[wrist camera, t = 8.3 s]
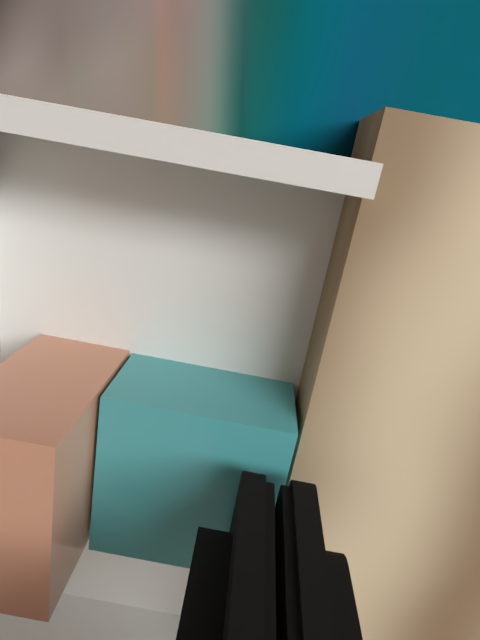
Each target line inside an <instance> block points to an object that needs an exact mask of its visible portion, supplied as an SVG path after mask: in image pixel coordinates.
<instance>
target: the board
mask: <svg viewBox="0 0 480 640" xmlns="http://www.w3.org/2000/svg"><path fill="white" fill-rule="evenodd" d="M351 158H355V159H361V160H366V161H372V162H377V163H383V168H382V171H381V175H380V179H379V183H378V186H377V190H376V194H375V198H374V200H372V199H367V198H361V197H356V196H350V195H345V198H344V202H343V206H342V211H341V215H340V219H339V223H338V227H337V231H336V235H335V239H334V243H333V248H332V252H331V256H330V260H329V264H328V268H327V272H326V276H325V280H324V284H323V289H322V293H321V297H320V301H319V305H318V309H317V313H316V317H315V321H314V326H313V330H312V334H311V338H310V342H309V346H308V350H307V354H306V358H305V363H304V367H303V371H302V375H301V379H300V383H299V387H298V391H297V395H296V400H295V407H296V417H297V427H298V438H297V442H296V445H295V449H294V453H293V457H292V461H291V465H290V469H289V473H288V477H287V481H286V485H287V486H289V483H290V481H291V480H296V481H302V482H307V483H312V484H315V485H316V487H317V494H318V501H319V508H320V515H321V522H322V529H323V536H324V543H325V550H327V551H332V552H337V553H343V554H344V555H345V556H346V558H347V562H348V565H349V571H350V576H351V581H352V586H353V591H354V596H355V602H356V607H357V612H358V617H359V622H360V627H361V633H362V638H363V640H480V124H478V123H473V122H467V121H462V120H456V119H451V118H445V117H440V116H434V115H429V114H423V113H418V112H412V111H407V110H401V109H396V108H390V107H384V108H382V109H380V110H378V111H376V112H374V113H372V114H370V115H368V116H366V117H365V118H363V119H361V120H360V122H359V126H358V130H357V134H356V138H355V142H354V146H353V151H352V155H351Z"/></svg>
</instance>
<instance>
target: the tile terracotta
mask: <svg viewBox="0 0 480 640" xmlns="http://www.w3.org/2000/svg"><path fill="white" fill-rule="evenodd" d="M129 353H130V350H124V349H119V348H114V347H108V346H103V345H98V344H92V343H87V342H82V341H76V340H71V339H66V338H60V337H55V336H50V335H44V334H40V335H39V336H37V337H36V338H34V339H33V340H32V341H30V342H29V343H28V344H26V345H25V346H24V347H22V348H21V349H19V350H18V351H17V352H15V353H14V354H13V355H11V356H10V357H8V358H7V359H6V360H4V361H3V362H2V363H0V613H1V614H7V615H12V616H17V617H23V618H28V619H33V620H38V621H44V622H49V620H50V618H51V616H52V614H53V612H54V610H55V608H56V606H57V604H58V601H59V599H60V597H61V595H62V593H63V591H64V589H65V587H66V585H67V583H68V581H69V579H70V577H71V575H72V573H73V571H74V569H75V567H76V565H77V562H78V560H79V558H80V556H81V554H82V552H83V550H84V548H85V546H86V544H87V542H88V540H89V536H90V523H91V510H92V497H93V484H94V471H95V459H96V446H97V433H98V420H99V407H100V397H101V396H102V394H103V393H104V392H105V390H106V389H107V388H108V386H109V385H110V383H111V382H112V381H113V379H114V378H115V377H116V375H117V374H118V373H119V371H120V370H121V368H122V367H123V366H124V364H125V363H126V362H127V360H128V359H129Z"/></svg>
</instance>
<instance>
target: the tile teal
mask: <svg viewBox="0 0 480 640" xmlns="http://www.w3.org/2000/svg"><path fill="white" fill-rule="evenodd" d="M297 438H298V427H297V417H296V407H295V397H294V388H293V383H290V382H285V381H280V380H274V379H269V378H264V377H258V376H253V375H247V374H242V373H237V372H231V371H226V370H221V369H215V368H210V367H205V366H199V365H194V364H189V363H183V362H178V361H173V360H167V359H162V358H157V357H151V356H146V355H141V354H135V353H133V354H132V355H131V356H130V358H129V359H128V360H127V362H126V363H125V364H124V366H123V367H122V368H121V370H120V371H119V373H118V374H117V375H116V377H115V378H114V379H113V381H112V382H111V383H110V385H109V386H108V388H107V389H106V390H105V392H104V393H103V394H102V396H101V397H100V407H99V420H98V433H97V446H96V459H95V471H94V484H93V497H92V510H91V523H90V536H89V549H88V550H94V551H99V552H104V553H110V554H115V555H120V556H125V557H131V558H136V559H141V560H146V561H152V562H157V563H162V564H168V565H173V566H178V567H183V568H189V569H190V566H191V561H192V556H193V551H194V546H195V541H196V536H197V531H198V527H204V528H209V529H215V530H220V531H225V532H229V530H230V525H231V521H232V516H233V511H234V506H235V502H236V497H237V492H238V487H239V483H240V478H241V473H242V471H248V472H254V473H259V474H264V475H266V482H271V483H274V485H275V505H276V501H277V497H278V493H279V489H280V486H281V485H286V481H287V477H288V473H289V469H290V465H291V461H292V457H293V453H294V449H295V445H296V442H297Z"/></svg>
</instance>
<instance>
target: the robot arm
mask: <svg viewBox="0 0 480 640" xmlns="http://www.w3.org/2000/svg"><path fill="white" fill-rule="evenodd" d="M176 640H363V638H362V633H361V627H360V622H359V617H358V612H357V607H356V602H355V596H354V591H353V586H352V581H351V576H350V571H349V565H348V562H347V558H346V556H345V555H344V554H343V553H337V552H332V551H327V550H325V543H324V536H323V529H322V522H321V515H320V508H319V501H318V494H317V487H316V485H315V484H312V483H307V482H302V481H296V480H291V481H290V483H289V486H287V485H281V486H280V489H279V493H278V497H277V501H276V505H275V485H274V483H271V482H266V475H264V474H259V473H254V472H248V471H242V473H241V478H240V483H239V487H238V492H237V497H236V502H235V506H234V511H233V516H232V521H231V525H230V530H229V532H225V531H220V530H215V529H209V528H204V527H198V531H197V536H196V541H195V546H194V551H193V556H192V561H191V566H190V571H189V576H188V581H187V586H186V591H185V596H184V601H183V606H182V611H181V616H180V621H179V626H178V631H177V636H176Z"/></svg>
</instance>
